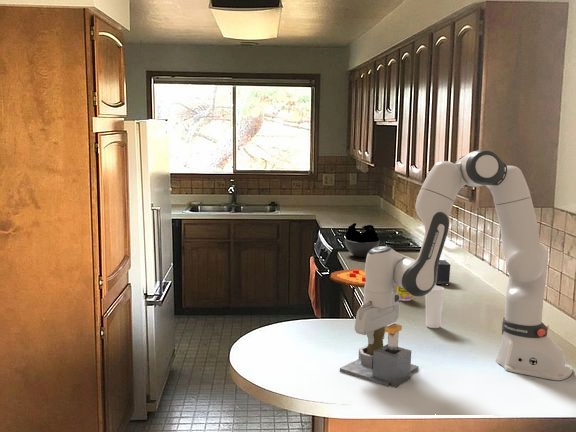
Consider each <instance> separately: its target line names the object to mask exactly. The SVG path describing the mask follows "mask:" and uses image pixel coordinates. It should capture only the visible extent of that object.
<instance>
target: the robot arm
mask: <svg viewBox="0 0 576 432" xmlns="http://www.w3.org/2000/svg"><path fill="white" fill-rule="evenodd" d="M503 161H504V160H502V159H501V158H500V156H499V155H498V154H496V153H495V152H494V151H491V150H488V149H478V150H474V151H471V152H468V153H466V154H465V155H463V156H461V157H460V158H459V159H457V160H456V161H455V162H451V161H448V160H441V161H437V162H436V163H434V165H432V168H431V169H430V171H429V173H428V174H427V176H426V177H425V179H424V181H423V183H422V185H421V187H420V189H419V192H418V194H417V196H416V201H415V206H414V208H415V213H416V215H417V216H418V218H419V219H420V220H421V222H422V224H423V227H424V230H425V232H424V237H423V240H422V244H421V248H420V249H419V250H420V251H419V253H418V256H417V258H416V259H414V258H412V257H410V256H407V255H404V254H401V253H400V252H398V251H396V250H394V249H393V248H392V247H391V246H387V245H385V246H381V245H379V246H378V247H375V248H372V249H371V250H369V252H368V254H367V257H365V264H364V266H365V267H364V270H365V278H366V283H365V286H364V287H363V303H362V304H360V307H359V308H358V310H357V312H356V316H355V322H354V331H355V333H357V334H358V335H362V336H366V337H367V344H368V343H369V344H374V343H375V338H374V336H373V334H374V331H375V330H378V329H380V328H382V327H383V328H384V331H385V330H386V327H387V326H390V325H392V324H395V323H396V322H397V320H398V319H399V313H400V301H401V300H400V294H397V292H393V291H394V287H397V286H399V287H401V288H403V289H405V290H406V291H407V292H409V293H410V294H411V295H412V297H413V296H414V297H423V296H424V297H425V295H426V294H428V293H429V292H430V291H431V290H432V289H433V287H434V286H436V284H435V283H436V278H437V267H438V263H439V260H441V257H442V256H441V255H442V252H443V249H444V246H445V242H446V240H447V237H448V232H449V229H450V215H451V211H452V208H453V206H454V203H455V201H456V198H457V196H458V193H459V192H460V190H461V189H462V188H463V187H465V188H466V187H467V188H481V187H483V186H485V187H487V189H489V191H490V193H491V196H492V199H493V205H494V208H495V209H494V210H495V212H496V215H497V216H496V217H497V221H498V224H499V228H500V233H501V234H500V235H501V240H502V241H501V242H502V248H503V255H504V261H505V265H506V269H507V272H508V283H507V288H506V289H507V291H506V295H505V307H504V317H503V320H502V322H501V323H502V324H501V334H502V337H501V343H500V347H499V350H498V353H497V355H496V358H495V361H496V362H497V363H498V364H499V365H500V366H502V367H503V368H504V370H505V371H507V372H510V373H516V374H522V375H527V376H531V377H536V378H540V379H541V378H542V379H547V380H552V381H562V380H566V379H567V378H569V377H571V375H573V367H572V366H571V365H570V364H566V358H565V353H564V350H563V349H562V348H561V347H560V346H559V345H558V344H557V343H556V342H555V341H553V340H552V338H550V336H548V330H549V328H550V325H545V324H544V322H542V320H543V308H544V300H545V299H544V297H545V290H546V281H547V273H548V272H547V271H548V265H549V264H548V263H549V255H548V254H549V253H548V251H547V249H546V247H544V245H542V243H541V238H540V232H539V226H538V218H537V215H536V211H535V207H534V204H533V200H532V196H531V191H530V187H529V185H528V183H527V179H526V178H525V176H524V174H523V171H522V169H520V168H519V167H518V166H515V165H507V164H506V163H505V162H503ZM385 334H386V332H384V336H383V340H384V339H385Z"/></svg>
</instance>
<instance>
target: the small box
mask: <svg viewBox="0 0 576 432" xmlns="http://www.w3.org/2000/svg"><path fill="white" fill-rule="evenodd" d="M450 275H451V264H450V263H449V262H448V261H447V260H446V259H444V260H443V259H439V263H438V267H437V278H436V284H449V285H450V277H451V276H450ZM436 284H435V285H436Z"/></svg>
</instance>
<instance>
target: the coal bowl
mask: <svg viewBox="0 0 576 432" xmlns="http://www.w3.org/2000/svg"><path fill="white" fill-rule="evenodd" d="M356 226H357V222H353V223H352V224H350V225H349V226H348V227H347V230H346V233H345V238H344V244H345V247H346V249H347V250H348V252H349V253H350V254H352V255H353V256H355V257H358V258H367V254H368V252H369V250H371V249H372V248H375V247H379V246H380V243H381V241H380V238H379V236H378V234H377V231H376V230H375V227H374V225H372V224H367V225H366V224H365V225H363V226H361V228H362V229H364V230H365V231H363V232H362V233H360V232H359V231H358V230H357V229H356Z"/></svg>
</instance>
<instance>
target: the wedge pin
mask: <svg viewBox="0 0 576 432" xmlns="http://www.w3.org/2000/svg"><path fill="white" fill-rule="evenodd" d="M402 329H403V325H401V324H398V323H391V324H389V325H387V327H386V330H385V333H387V344H388V349H387V352H390V353H393V354H396V353H398V347H399V335H400V334H399V333H400V331H402Z"/></svg>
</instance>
